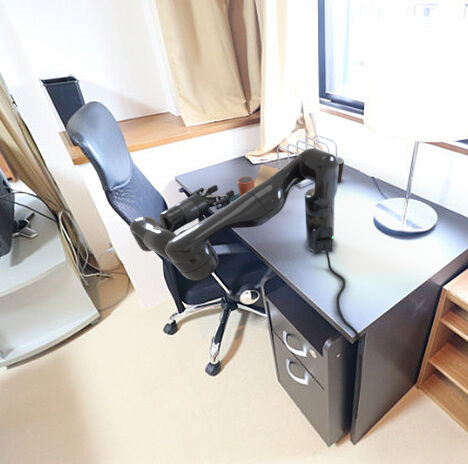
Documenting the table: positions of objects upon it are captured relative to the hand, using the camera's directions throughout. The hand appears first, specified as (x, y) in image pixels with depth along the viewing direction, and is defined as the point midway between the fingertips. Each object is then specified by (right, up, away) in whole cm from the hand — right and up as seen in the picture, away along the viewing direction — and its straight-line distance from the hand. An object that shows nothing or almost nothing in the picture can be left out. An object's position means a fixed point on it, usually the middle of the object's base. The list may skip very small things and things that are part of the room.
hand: (225, 189), depth 119 cm
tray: (+9, -1, +19) cm, 21 cm away
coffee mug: (+41, +13, +28) cm, 51 cm away
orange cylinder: (+8, 0, +16) cm, 18 cm away
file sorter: (+30, +12, +37) cm, 49 cm away
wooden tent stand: (+13, +3, +23) cm, 26 cm away
